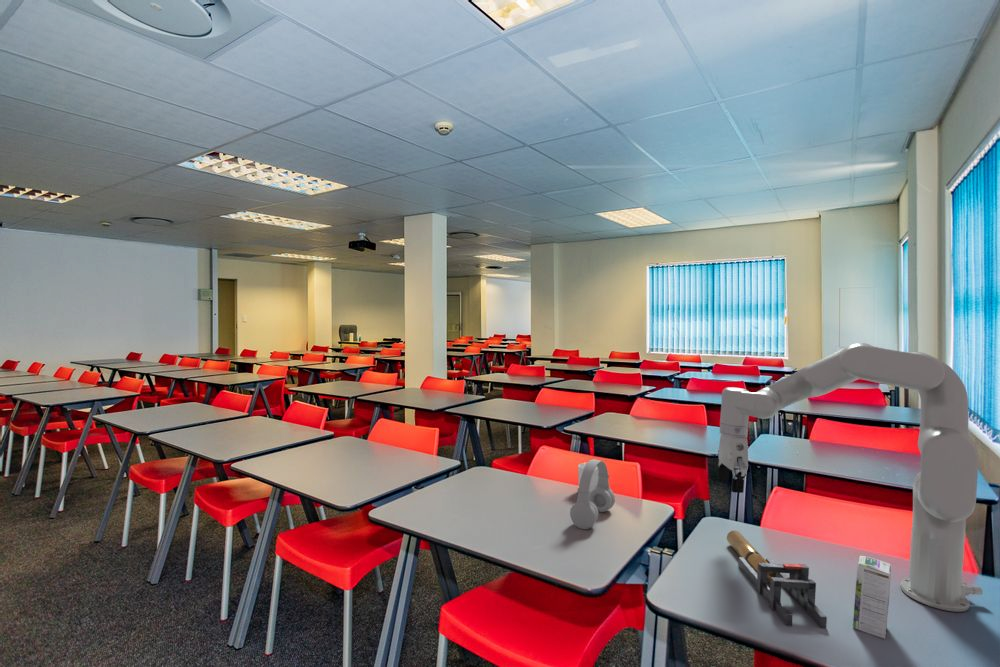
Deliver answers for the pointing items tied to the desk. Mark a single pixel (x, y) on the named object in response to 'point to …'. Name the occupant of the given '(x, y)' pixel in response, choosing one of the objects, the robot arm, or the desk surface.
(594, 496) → the headphones
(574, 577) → the desk surface
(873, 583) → the syrup box
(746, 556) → the tan cylindrical rod
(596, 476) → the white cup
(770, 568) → the collar rig
